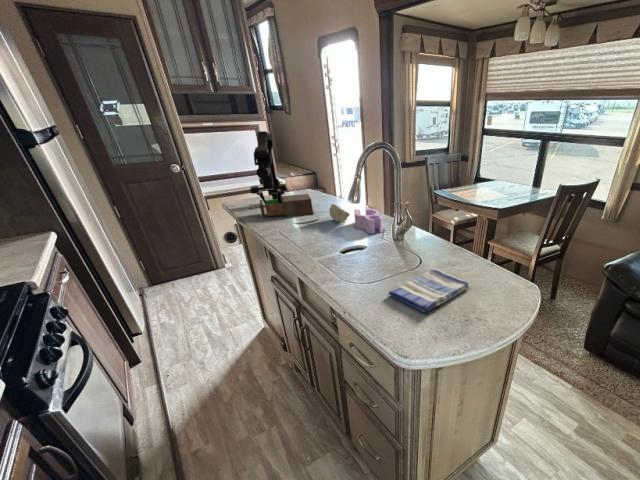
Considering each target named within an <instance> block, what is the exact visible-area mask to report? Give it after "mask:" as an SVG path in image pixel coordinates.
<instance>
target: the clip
mask: <svg viewBox="0 0 640 480" xmlns="http://www.w3.org/2000/svg"><path fill="white" fill-rule="evenodd" d="M354 224H355V228H356V229H358V230H362V231H363V230H364V231H365V232H366V233H368V234H371V235H375V234H376V230H378V232H379V233H383V231H384V225H383V224H384V223H383V216H382V215H380V212H379V211H378V209H373V208H369V207H366V208H365V214H361V210H360V209H354Z"/></svg>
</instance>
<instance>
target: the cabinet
mask: <svg viewBox="0 0 640 480" xmlns="http://www.w3.org/2000/svg"><path fill="white" fill-rule="evenodd" d="M281 199H282V204H283V209H284V214H283V215H284V218H291V217H299V216H309V215H314V209H313V203H312V198H311V196H310V193H303V194H292V195H282V196H281Z"/></svg>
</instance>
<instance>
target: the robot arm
mask: <svg viewBox="0 0 640 480" xmlns="http://www.w3.org/2000/svg"><path fill="white" fill-rule="evenodd" d="M256 140H257V146H256V147H255V148H254V152H253V162H254V163H253V164H254V166H258V167H257V169H256V176H257V177H258V181H259V185H260V186H261V187H259V185H252V186H250V193H251V194H253V195H255V194H256V196H259V198H261V200H262V202H263V204H264V205H265V204H266V201H265V200H266V198H265V195H264V192H267V193H268V196H271V200H273V199H278V203H279V202H280V199H281V196H284V195H285V192H288V185H287V184H286V183H281V181H280V180H279V178H278V177H277V172H276V166H275V161H274V156H273V149H274V147H275V145H274V143H275V138H274V135H273V134H272V133H269V132H267V131H265V130H264V131H262V130H261V131H257V132H256Z"/></svg>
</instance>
